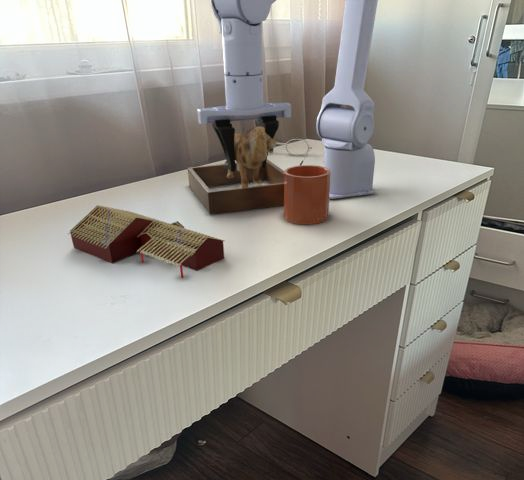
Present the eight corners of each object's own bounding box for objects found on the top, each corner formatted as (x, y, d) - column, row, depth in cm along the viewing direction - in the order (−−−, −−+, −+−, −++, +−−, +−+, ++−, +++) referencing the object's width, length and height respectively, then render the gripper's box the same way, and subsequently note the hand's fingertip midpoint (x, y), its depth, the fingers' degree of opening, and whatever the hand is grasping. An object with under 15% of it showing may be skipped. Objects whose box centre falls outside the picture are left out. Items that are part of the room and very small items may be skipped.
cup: (317, 207, 95) (319, 163, 90) (335, 221, 88) (338, 174, 84) (278, 212, 93) (277, 167, 88) (293, 227, 87) (294, 179, 82)
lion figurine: (282, 186, 80) (280, 125, 75) (253, 194, 78) (249, 131, 73) (237, 167, 91) (232, 113, 86) (210, 173, 89) (204, 118, 83)
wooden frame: (268, 178, 112) (267, 159, 110) (299, 203, 97) (299, 181, 95) (189, 187, 107) (187, 167, 105) (209, 214, 93) (207, 192, 90)
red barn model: (226, 256, 77) (224, 222, 74) (163, 287, 69) (158, 249, 66) (134, 226, 88) (129, 195, 86) (70, 248, 80) (62, 215, 77)
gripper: (280, 69, 80) (280, 158, 88) (190, 74, 77) (198, 166, 84) (296, 73, 75) (295, 168, 82) (200, 79, 71) (207, 177, 79)
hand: (247, 168), depth 83 cm, fingers closed on lion figurine, 4 cm apart
